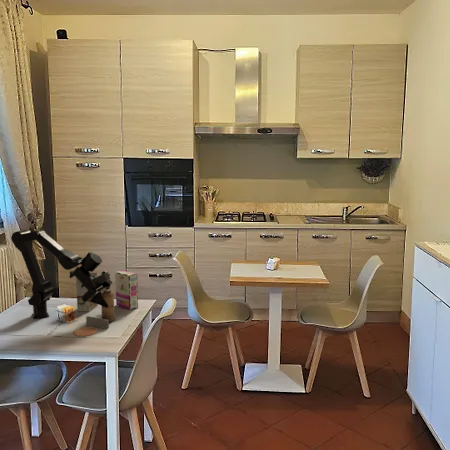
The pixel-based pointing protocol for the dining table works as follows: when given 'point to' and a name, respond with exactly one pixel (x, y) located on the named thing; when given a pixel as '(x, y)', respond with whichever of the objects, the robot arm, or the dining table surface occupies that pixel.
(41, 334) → the dining table surface
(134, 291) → the candy bar box
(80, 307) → the coffee box
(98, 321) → the grey flat bar
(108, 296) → the walnut mill
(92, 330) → the coaster
